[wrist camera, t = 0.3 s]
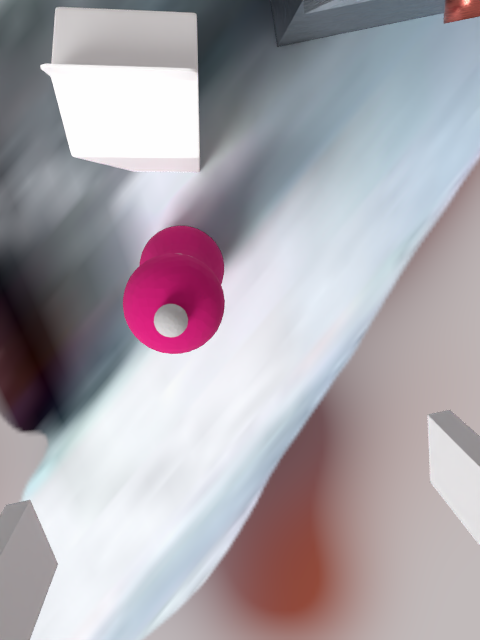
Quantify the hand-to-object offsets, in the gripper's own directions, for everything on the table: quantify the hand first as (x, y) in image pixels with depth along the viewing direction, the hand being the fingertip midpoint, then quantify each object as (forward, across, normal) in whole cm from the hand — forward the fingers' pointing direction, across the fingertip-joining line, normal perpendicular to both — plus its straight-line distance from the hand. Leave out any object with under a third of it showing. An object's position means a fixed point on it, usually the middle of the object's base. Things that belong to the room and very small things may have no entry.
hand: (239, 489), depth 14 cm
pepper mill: (+29, -2, +3) cm, 29 cm away
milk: (+29, -1, +14) cm, 32 cm away
